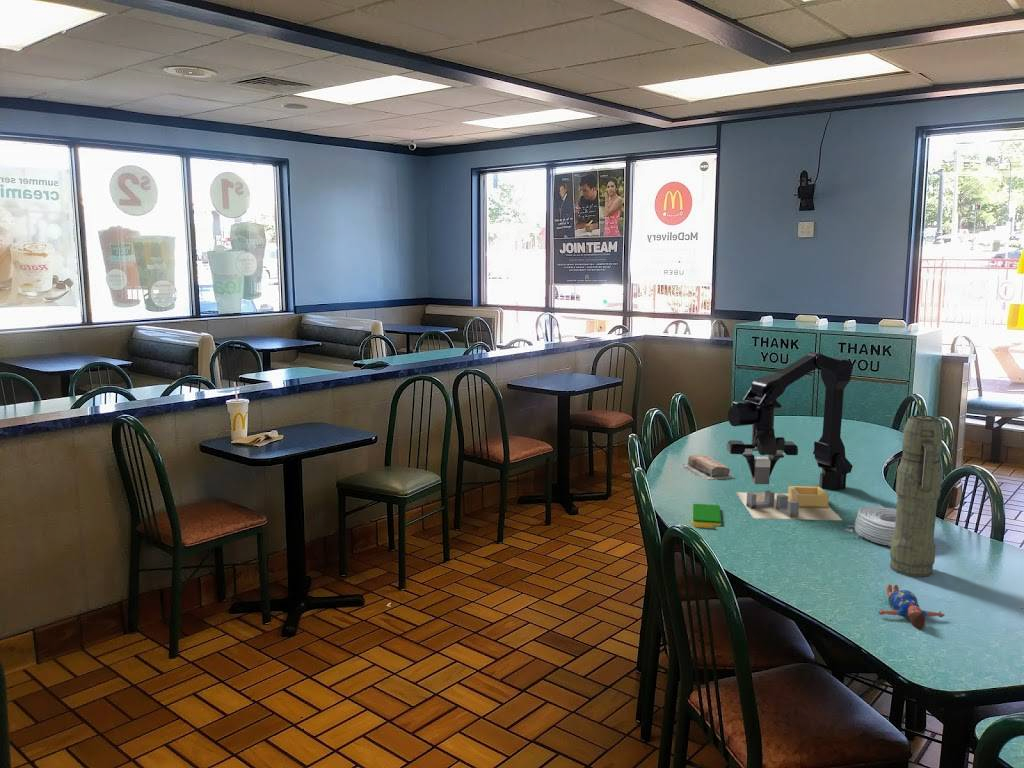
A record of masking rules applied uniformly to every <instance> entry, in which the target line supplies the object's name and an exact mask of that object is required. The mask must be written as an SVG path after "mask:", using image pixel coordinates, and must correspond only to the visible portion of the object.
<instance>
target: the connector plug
mask: <svg viewBox="0 0 1024 768" xmlns="http://www.w3.org/2000/svg"><path fill="white" fill-rule="evenodd" d="M770 477H771V475H770V459H769V458H768V456H754V477H752V476H751V481H752V482H753V484H754V485H770Z"/></svg>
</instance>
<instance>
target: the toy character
mask: <svg viewBox="0 0 1024 768" xmlns="http://www.w3.org/2000/svg"><path fill="white" fill-rule="evenodd" d="M886 595H887V596H888V599H887V600H888V605H889V607H890V608H891V609H892V610H891V609H890V610H884V609H881V608H879V610H880V612H878V615H881V616H883V615H892V616H899V617H904V618H909V621H910V624H911V625H912V626H913V627H914V628H916V629H918V630H923V629H924V628H925V624H926V617H936V616H937V617H940V618H943V617H945V616H946V614H945V613H942V610H940V611H939V612H935V611H931V610H929V611H928V610H922V609H921V607H920V604H919V602H918V598H917V597H916V595H915V594H914V593H913V591H910V590H907V589H901V590H900V588H899V586H898V584H893V587H892V584H887V586H886Z"/></svg>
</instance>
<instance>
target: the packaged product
mask: <svg viewBox="0 0 1024 768" xmlns="http://www.w3.org/2000/svg"><path fill="white" fill-rule="evenodd" d="M687 459H688V460H687V463H686V464H685V463H683V464H682V468H683V467H684V468H683V469H685V468H686V469H688V470H689V471H691V472H692V473H691V472H690V473H691V474H693V473H694V474H695V475H694V474H693V475H694V476H696V475H697V476H699V477H698V478H703V479H706V480H708V481H711V480H712V481H713V480H721V479H723V480H725V479H733V478H736V476H734V475H732V474H730V472H731V470H730V468H729V467H728V466H726V465H724V464H722V463H721V462H719V461H717V460H716V459H714V458H711V457H710V456H708V455H706V454H694V455H689V456H688V458H687ZM686 469H685V470H686ZM688 470H687V471H688ZM689 471H688V472H689ZM697 476H696V477H697Z"/></svg>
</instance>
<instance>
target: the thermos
mask: <svg viewBox="0 0 1024 768" xmlns="http://www.w3.org/2000/svg"><path fill="white" fill-rule="evenodd" d="M942 441H943V429H942V425H941V421H940V419H939V418H937V417H935V416H933V415H925V414H915V415H914V414H913V415H912V416H909V417H908V418H907V420H906V423H905V425H904V427H903V435H902V444H901V445H902V446H901V451H902V455H901V458H900V462H899V465H898V467H897V471H896V483H895V493H896V496H897V498H896V499H897V500H896V508H895V509H896V522H895V532H894V534H893V536H892V538H891V546H890V550H889V557H890V563H889V567H890V569H891V570H892V571H894V572H895V573H897V574H900V575H903V576H907V577H913V578H927V577H930V576H932V575H933V572H934V571H933V570H934V569H933V568H934V564H935V559H936V549H937V548H936V547H937V544H936V541H935V529H936V517H937V508H938V507H937V506H938V500H939V499H940V497H941V488H942V481H943V480H942V479H943V473H942V469H941V466H940V465H941V459H940V455H941V454H942V445H943V444H942V443H943V442H942Z"/></svg>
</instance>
